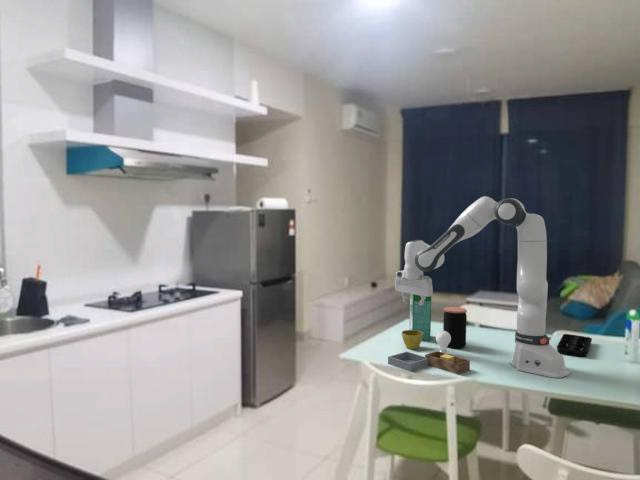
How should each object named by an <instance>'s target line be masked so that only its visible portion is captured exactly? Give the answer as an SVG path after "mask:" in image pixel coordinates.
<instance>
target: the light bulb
mask: <svg viewBox="0 0 640 480" xmlns="http://www.w3.org/2000/svg"><path fill="white" fill-rule="evenodd" d="M435 341H436V342H437V344H438V349H439V352H442V353H446V354H447V349H448V348H447V346H448V344H449V343H450V341H451V336H450V334H449V333H448V332H447V331H443V330H439V331H438V332H436V335H435Z"/></svg>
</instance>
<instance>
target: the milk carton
mask: <svg viewBox="0 0 640 480" xmlns="http://www.w3.org/2000/svg"><path fill="white" fill-rule="evenodd" d="M421 299H422V298H421V296H420V295H414V294H409V300H410V301H409V325H408V326H409V329H408V330H416V331H420V332H423V338H422V341H431V332H432V331H431V328H432V327H431V326H432V325H431V323H432V320H431V319H432V296H429V297H426V299H425V300H424V305H419V301H421Z"/></svg>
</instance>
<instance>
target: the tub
mask: <svg viewBox="0 0 640 480" xmlns="http://www.w3.org/2000/svg"><path fill="white" fill-rule="evenodd" d="M387 364H388V365H390V366H393V367H396V368H399V369H402V370H405V371H408V372H412V371H416V370H419V369H423V368H425V367H428V366H429V358H426V357H425V355H424V356H423V355H420V354H417V353H413V352H410V351H404V352H403V351H402V352H399V353H397V354H393V355H390V356H387Z"/></svg>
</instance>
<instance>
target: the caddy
mask: <svg viewBox="0 0 640 480" xmlns="http://www.w3.org/2000/svg"><path fill="white" fill-rule="evenodd" d="M445 354H447V355H450V356H454V363H453V362H450V361H446V360H443V359H440V356H442V355H445ZM424 357H426V358H429V366H430V367H432V368H436V369H439V370H442V371H445V372H448V373H452V374H455V375H461V374H463V373H466V372H469V371H470V369H471V360H470V359H466V358H464V357H460V356H457V355H453V354H449V353H447V352H446V353H442V352H440V350H439V351H438V350H437V351H432V352H430V353H426V354H424Z"/></svg>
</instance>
